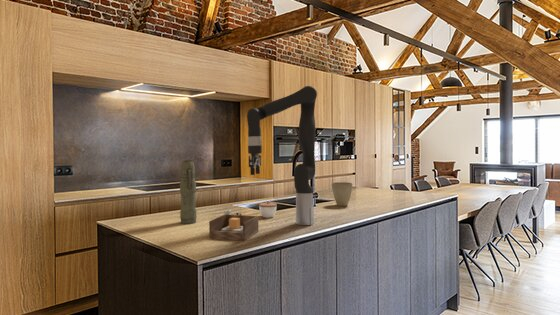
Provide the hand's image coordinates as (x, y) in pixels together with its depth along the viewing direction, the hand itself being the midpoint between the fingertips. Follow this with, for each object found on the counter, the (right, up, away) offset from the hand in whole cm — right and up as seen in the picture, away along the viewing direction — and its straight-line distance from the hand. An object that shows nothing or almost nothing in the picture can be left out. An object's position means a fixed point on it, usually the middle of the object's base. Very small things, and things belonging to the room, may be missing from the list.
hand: (255, 174), depth 208 cm
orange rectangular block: (-8, -28, -24) cm, 38 cm away
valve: (-13, -28, +4) cm, 31 cm away
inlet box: (-8, -28, -24) cm, 38 cm away
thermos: (-38, -28, +6) cm, 48 cm away
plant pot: (+58, -25, +63) cm, 89 cm away
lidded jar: (+6, -27, +22) cm, 35 cm away
